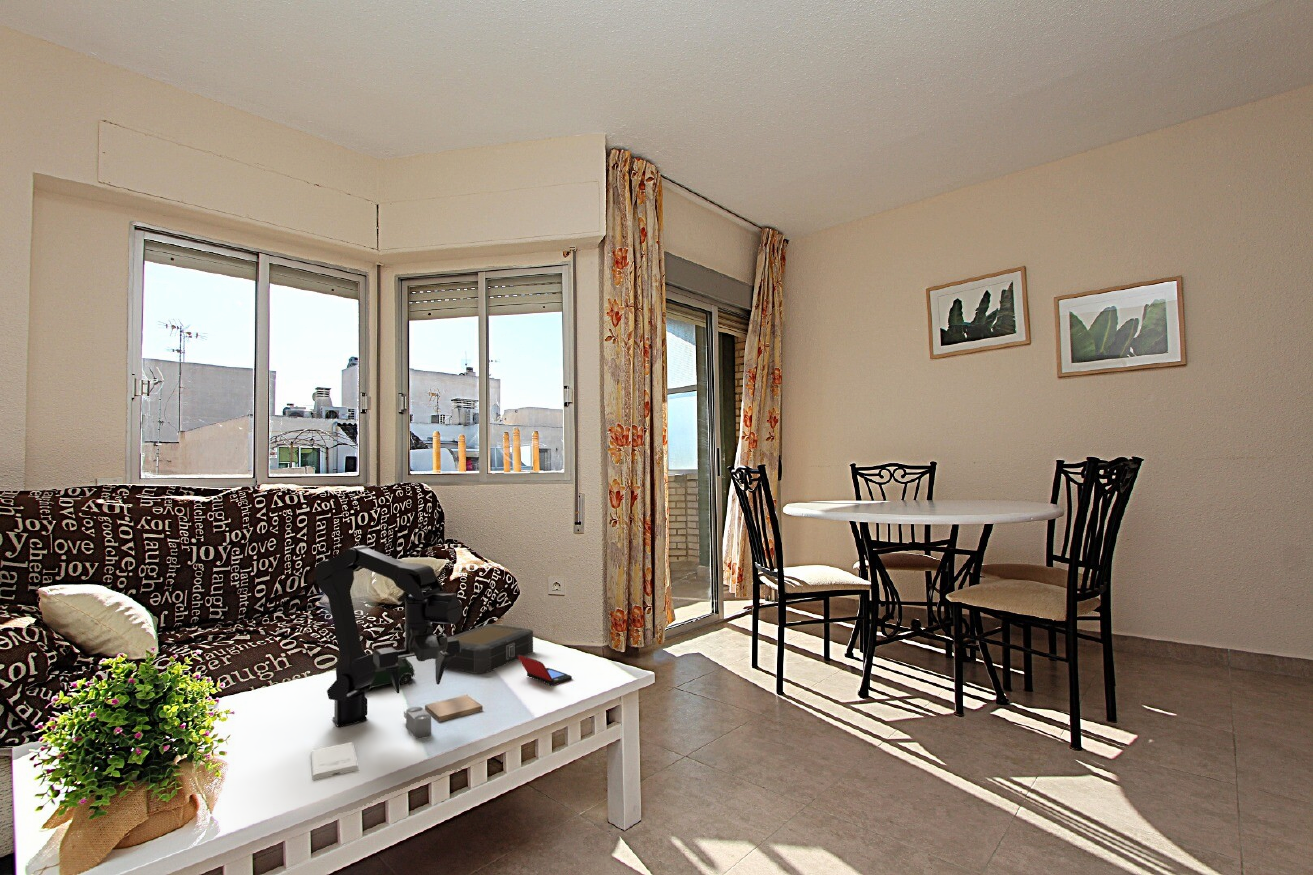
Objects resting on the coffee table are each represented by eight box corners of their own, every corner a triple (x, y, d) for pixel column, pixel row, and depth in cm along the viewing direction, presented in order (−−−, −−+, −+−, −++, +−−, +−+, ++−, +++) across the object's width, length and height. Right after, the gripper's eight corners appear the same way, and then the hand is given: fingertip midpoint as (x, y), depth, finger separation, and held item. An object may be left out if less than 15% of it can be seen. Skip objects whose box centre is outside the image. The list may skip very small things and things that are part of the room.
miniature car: (341, 688, 183) (341, 659, 183) (407, 674, 194) (407, 647, 194) (349, 697, 176) (349, 667, 176) (417, 682, 186) (417, 654, 187)
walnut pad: (439, 721, 158) (439, 716, 158) (425, 709, 166) (425, 704, 166) (482, 710, 164) (482, 705, 164) (467, 699, 172) (467, 694, 172)
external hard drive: (352, 749, 144) (358, 772, 134) (310, 757, 140) (312, 782, 130) (352, 741, 145) (358, 763, 134) (310, 750, 141) (312, 773, 130)
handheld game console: (573, 680, 187) (573, 653, 187) (542, 690, 179) (541, 662, 179) (547, 670, 196) (547, 645, 196) (516, 679, 188) (516, 653, 188)
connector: (417, 739, 148) (417, 721, 148) (401, 723, 157) (401, 706, 158) (433, 735, 150) (433, 717, 150) (416, 719, 160) (416, 702, 160)
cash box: (484, 676, 192) (484, 649, 192) (432, 667, 201) (432, 641, 201) (536, 653, 214) (536, 629, 214) (488, 645, 223) (488, 622, 223)
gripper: (386, 634, 141) (386, 708, 141) (470, 621, 153) (470, 688, 152) (372, 624, 150) (372, 693, 150) (452, 612, 162) (452, 676, 161)
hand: (418, 688), depth 153 cm, fingers open, 9 cm apart
